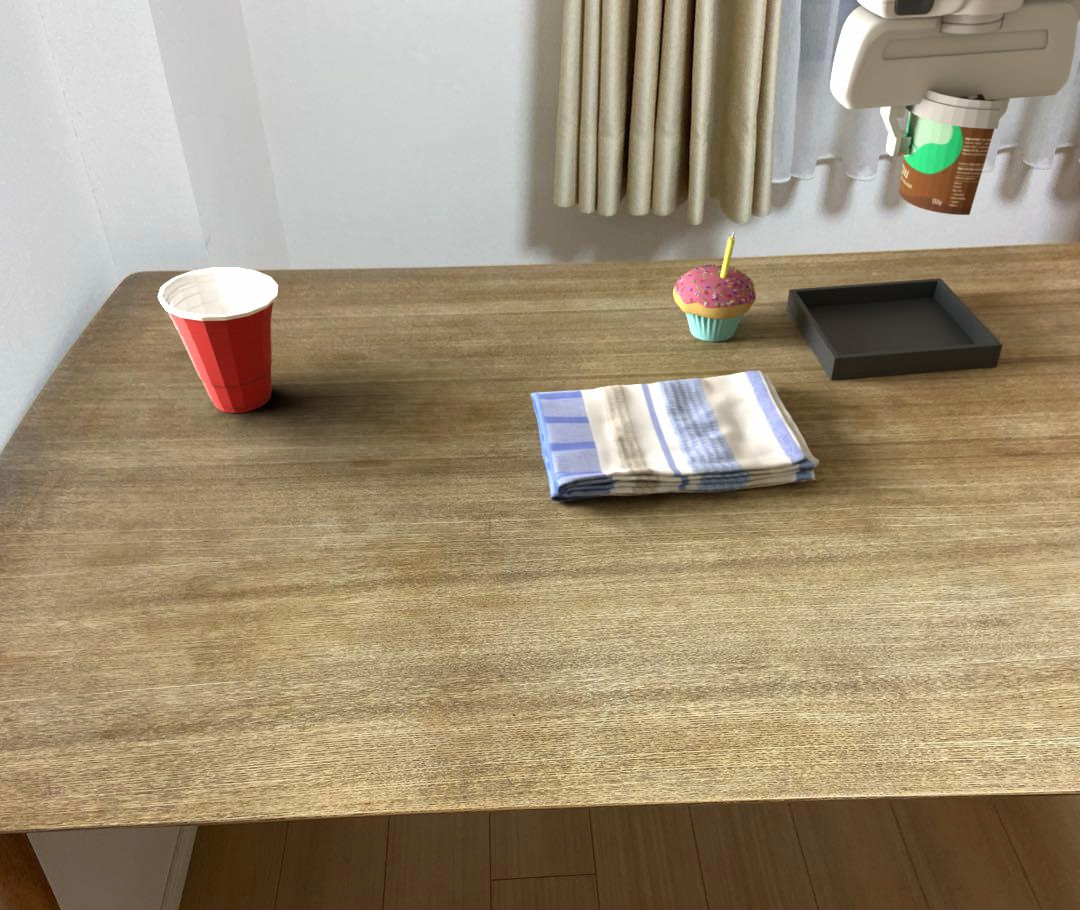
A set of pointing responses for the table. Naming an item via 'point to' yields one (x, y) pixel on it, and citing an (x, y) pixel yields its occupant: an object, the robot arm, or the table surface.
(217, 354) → the plastic cup
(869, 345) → the tray
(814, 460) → the dish towel
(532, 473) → the table surface
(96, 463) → the table surface
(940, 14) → the robot arm
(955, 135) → the food container
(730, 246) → the cupcake
